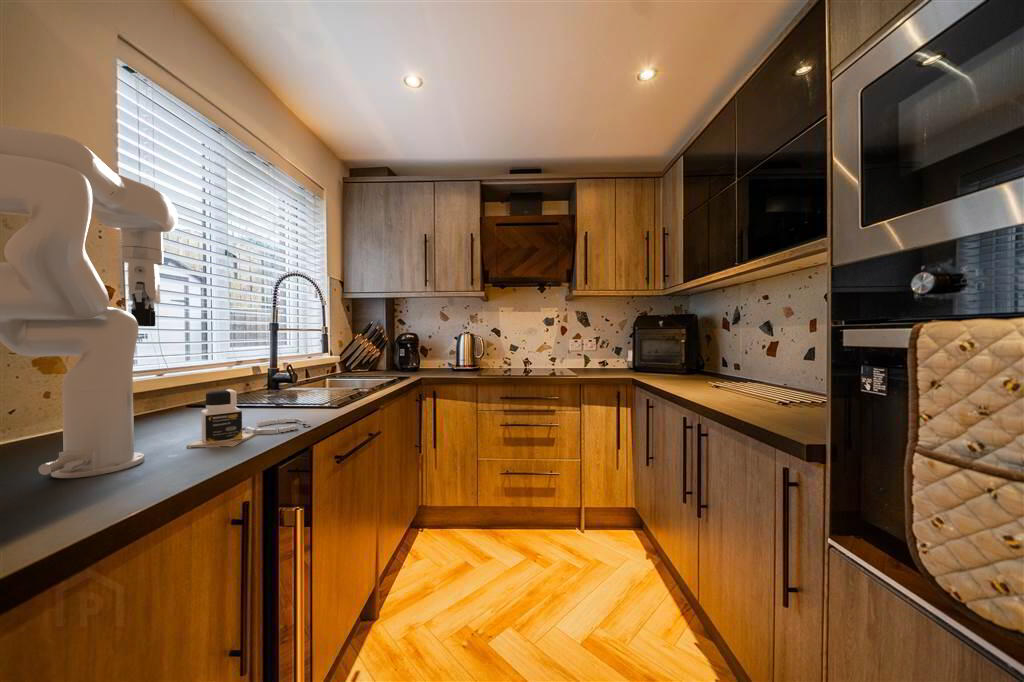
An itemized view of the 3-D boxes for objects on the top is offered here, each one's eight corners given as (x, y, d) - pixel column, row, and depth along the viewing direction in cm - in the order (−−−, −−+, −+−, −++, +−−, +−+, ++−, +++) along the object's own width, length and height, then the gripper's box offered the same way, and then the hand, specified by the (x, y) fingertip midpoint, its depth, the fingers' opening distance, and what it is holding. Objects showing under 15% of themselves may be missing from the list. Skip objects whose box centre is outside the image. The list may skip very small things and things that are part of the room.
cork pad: (234, 446, 91) (234, 443, 91) (186, 448, 90) (186, 445, 90) (255, 435, 101) (255, 432, 101) (212, 437, 100) (212, 434, 100)
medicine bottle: (205, 444, 90) (204, 393, 90) (201, 438, 95) (200, 390, 95) (242, 438, 95) (241, 389, 95) (236, 433, 100) (236, 387, 100)
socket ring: (300, 432, 104) (300, 428, 104) (229, 435, 101) (229, 430, 101) (317, 421, 118) (317, 417, 118) (255, 423, 115) (255, 419, 115)
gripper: (159, 253, 92) (160, 326, 92) (166, 263, 106) (167, 326, 106) (114, 249, 87) (116, 325, 88) (127, 260, 101) (129, 326, 101)
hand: (144, 326), depth 97 cm, fingers open, 9 cm apart
